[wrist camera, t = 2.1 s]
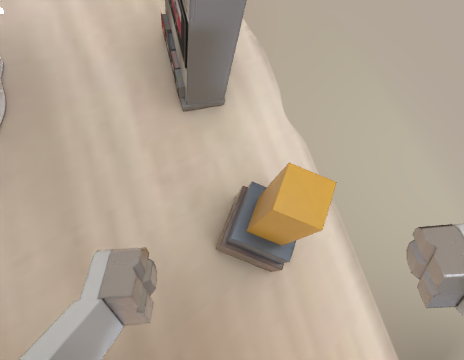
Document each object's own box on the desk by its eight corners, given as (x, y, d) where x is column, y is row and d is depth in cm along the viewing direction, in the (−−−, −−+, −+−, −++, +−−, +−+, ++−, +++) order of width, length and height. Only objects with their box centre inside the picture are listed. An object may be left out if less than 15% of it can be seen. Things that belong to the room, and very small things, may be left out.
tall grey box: (160, 28, 52) (143, -185, 29) (201, 23, 54) (217, -185, 30) (181, 112, 49) (180, -50, 25) (223, 105, 50) (261, -57, 26)
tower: (215, 249, 44) (224, 240, 36) (236, 195, 47) (249, 175, 38) (271, 271, 45) (292, 268, 36) (289, 217, 47) (313, 201, 38)
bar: (246, 231, 36) (272, 209, 26) (259, 196, 38) (288, 162, 27) (282, 245, 37) (322, 230, 26) (293, 210, 38) (336, 182, 27)
